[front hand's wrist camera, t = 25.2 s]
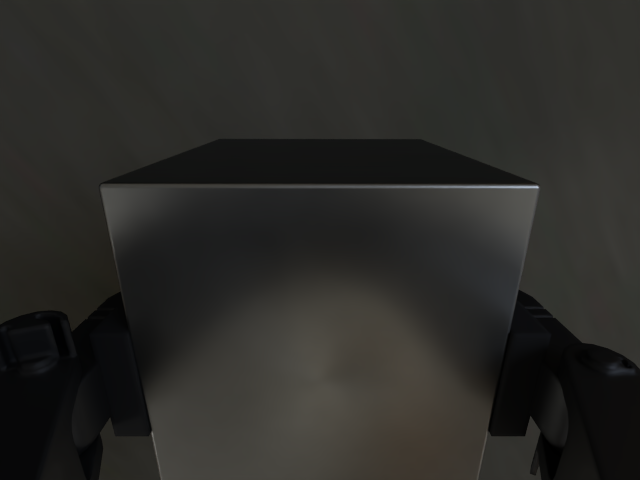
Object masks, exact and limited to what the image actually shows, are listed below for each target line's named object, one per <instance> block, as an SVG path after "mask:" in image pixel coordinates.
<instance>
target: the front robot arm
mask: <svg viewBox="0 0 640 480" xmlns="http://www.w3.org/2000/svg"><path fill="white" fill-rule="evenodd" d="M530 415H531V417H532V418H533V420H534V421H535V423H536V424H537V426H538V427H539V429H540V430H541V432H540V436H539V439H538V443H537V447H536V450H535V454H534V457H533V461H532V464H531V470H530V474H533V475H536V473H537V469H538V467H539V466H540V472H541V479H542V480H640V369H639V368H638V367H637V366H636V365H635V363H633V362H632V361H630V360H629V359H627V358H626V357H624V356H623V355H621V354H619V353H617V352H614V351H612V350H610V349H608V348H604V347H601V346H597V345H594V344H586V343H582V342H581V341H580V340H578V339H577V338H576V337H575V336H574V335H573V334H572V333H571V332H570V331H569V330H568V329H567V328H565V327H564V326H563V325H562V324H561V323H560V322H559V321H558V320H557V319H556V318H553V316H552V315H551V314H550V313H549V312H548V311H547V310H546V309H544V308H543V306H542V305H541V304H540V303H538V302H537V301H536V300H535V299H534V298H533V297H532V296H530V295H528V294H526V293H524V292H522V291H520V290H518V295H517V300H516V304H515V309H514V314H513V318H512V323H511V328H510V333H509V337H508V342H507V347H506V351H505V356H504V361H503V365H502V370H501V375H500V379H499V384H498V389H497V394H496V398H495V403H494V408H493V412H492V417H491V422H490V426H489V432H490V434H491V436H525V434H526V430H527V426H528V423H529V419H530ZM109 418H111V421H112V425H113V429H114V433H115V436H149V435H150V433H151V431H150V427H149V422H148V417H147V413H146V408H145V403H144V399H143V394H142V389H141V384H140V380H139V375H138V370H137V366H136V361H135V356H134V351H133V347H132V342H131V337H130V333H129V328H128V323H127V319H126V314H125V309H124V304H123V300H122V295H121V292H119V293H117V294H115V295H113V296H111V297H110V298H108V299H107V300H106V301H105V302H104V303H103V304H101V305H100V306H99V307H98V308H97V311H94V312H93V313H92V314H91V315H90V316H89V317H88V319H85V320H84V321H83V322H82V323H81V324H80V325H79V326H78V327H77V328H76V329H75V330H74V331H73V332H71V328H70V324H69V321H68V317H67V315H66V314H64V313H62V312H60V311H51V310H50V311H39V312H34V313H30V314H25V315H21V316H19V317H16V318H14V319H11V320H8V321H6V322H4V323H2V324H1V325H0V480H99V473H100V466H101V460H102V453H103V445H102V439H101V436H100V431H101V430H102V428H103V427H104V425H105V424H106V422H107V421H108V419H109Z"/></svg>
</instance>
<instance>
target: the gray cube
mask: <svg viewBox="0 0 640 480" xmlns="http://www.w3.org/2000/svg"><path fill="white" fill-rule="evenodd" d="M99 191H100V196H101V200H102V205H103V210H104V215H105V219H106V224H107V229H108V233H109V238H110V243H111V248H112V252H113V257H114V262H115V267H116V271H117V276H118V281H119V286H120V290H121V295H122V300H123V304H124V309H125V314H126V319H127V323H128V328H129V333H130V337H131V342H132V347H133V351H134V356H135V361H136V366H137V370H138V375H139V380H140V384H141V389H142V394H143V399H144V403H145V408H146V413H147V417H148V422H149V427H150V431H151V437H152V442H153V446H154V451H155V456H156V461H157V465H158V470H159V475H160V480H478V478H479V473H480V469H481V464H482V459H483V455H484V450H485V445H486V441H487V436H488V431H489V426H490V422H491V417H492V412H493V408H494V403H495V398H496V394H497V389H498V384H499V379H500V375H501V370H502V365H503V361H504V356H505V351H506V347H507V342H508V337H509V333H510V328H511V323H512V318H513V314H514V309H515V304H516V300H517V295H518V290H519V286H520V281H521V276H522V272H523V267H524V262H525V257H526V253H527V248H528V243H529V239H530V234H531V229H532V225H533V220H534V215H535V210H536V206H537V201H538V196H539V192H540V185H539V184H537V183H535V182H532V181H529V180H527V179H524V178H521V177H519V176H516V175H514V174H511V173H508V172H506V171H503V170H500V169H498V168H495V167H492V166H490V165H487V164H485V163H482V162H479V161H477V160H474V159H471V158H469V157H466V156H464V155H461V154H458V153H456V152H453V151H450V150H448V149H445V148H442V147H440V146H437V145H435V144H432V143H429V142H427V141H424V140H421V139H218V140H215V141H213V142H210V143H207V144H205V145H202V146H199V147H197V148H194V149H191V150H189V151H186V152H183V153H180V154H178V155H175V156H172V157H170V158H167V159H164V160H162V161H159V162H156V163H154V164H151V165H148V166H146V167H143V168H140V169H137V170H135V171H132V172H129V173H127V174H124V175H121V176H119V177H116V178H113V179H111V180H108V181H105V182H103V183H101V184H100V185H99Z"/></svg>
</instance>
